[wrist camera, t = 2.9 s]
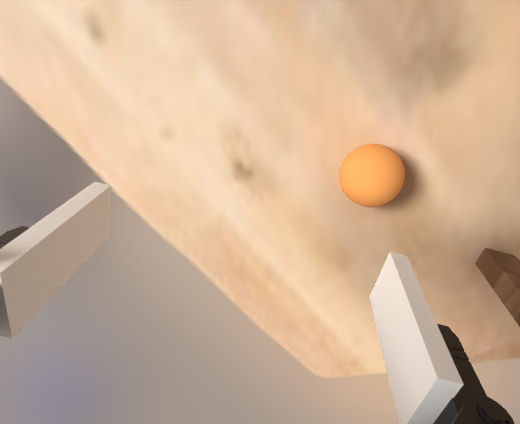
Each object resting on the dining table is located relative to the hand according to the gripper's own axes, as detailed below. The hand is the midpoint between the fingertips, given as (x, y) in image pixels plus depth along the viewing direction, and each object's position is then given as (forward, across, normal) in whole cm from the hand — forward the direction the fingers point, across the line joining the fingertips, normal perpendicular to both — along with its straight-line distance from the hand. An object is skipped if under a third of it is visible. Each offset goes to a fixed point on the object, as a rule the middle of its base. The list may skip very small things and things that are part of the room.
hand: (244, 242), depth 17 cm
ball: (+16, +9, -1) cm, 19 cm away
